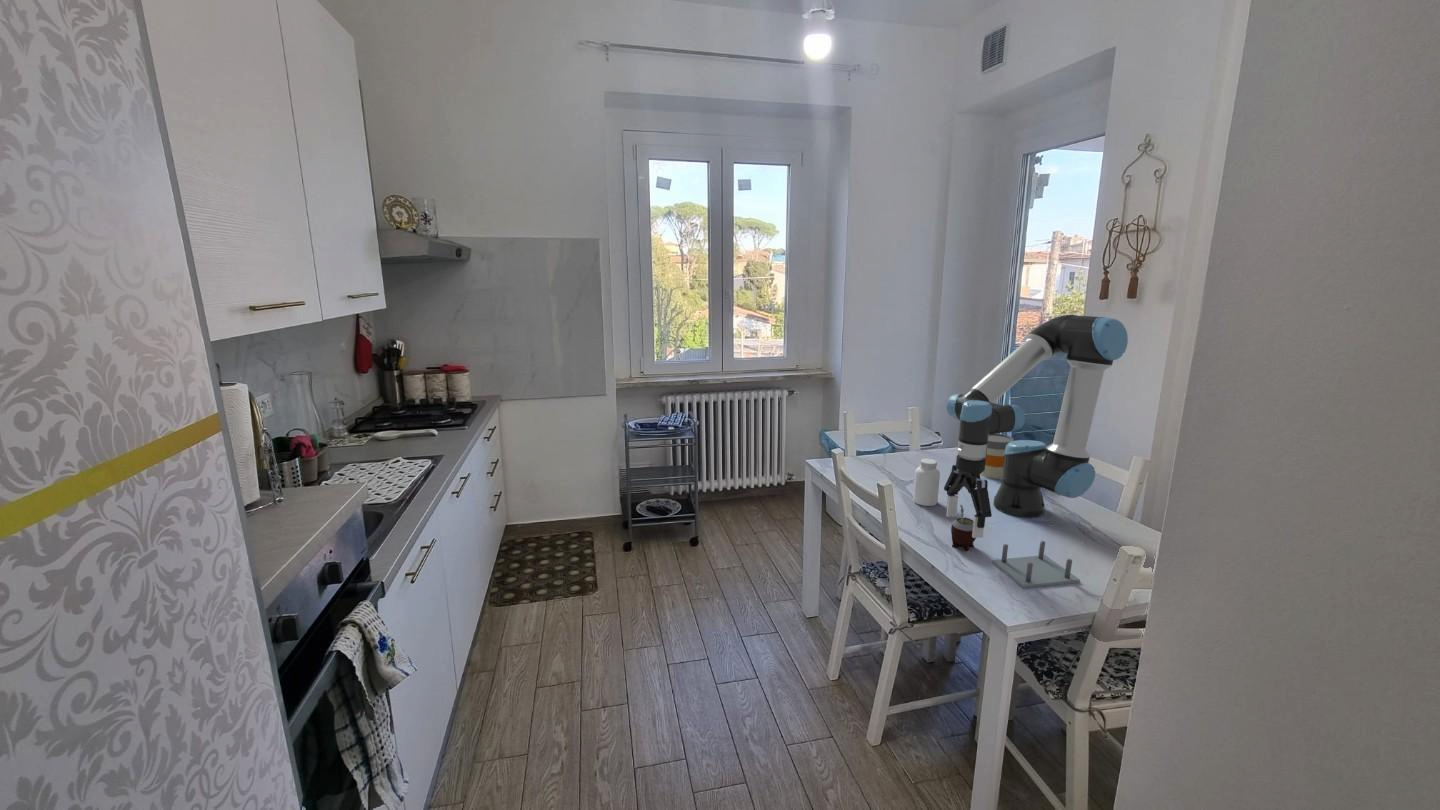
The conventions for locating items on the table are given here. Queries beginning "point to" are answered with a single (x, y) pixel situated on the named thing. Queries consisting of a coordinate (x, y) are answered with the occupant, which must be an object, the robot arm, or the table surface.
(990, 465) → the reusable coffee cup
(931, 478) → the pill bottle
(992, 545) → the table surface
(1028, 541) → the table surface
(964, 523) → the mate gourd
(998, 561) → the tray
